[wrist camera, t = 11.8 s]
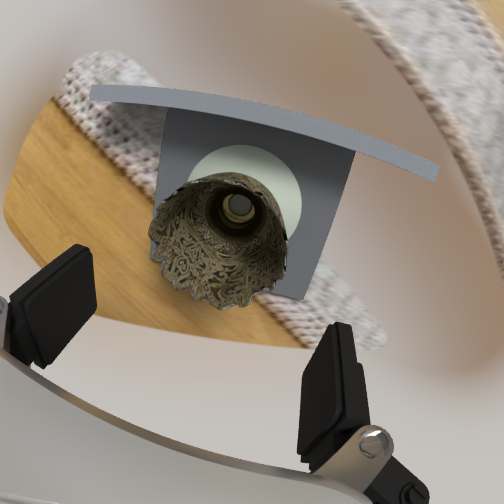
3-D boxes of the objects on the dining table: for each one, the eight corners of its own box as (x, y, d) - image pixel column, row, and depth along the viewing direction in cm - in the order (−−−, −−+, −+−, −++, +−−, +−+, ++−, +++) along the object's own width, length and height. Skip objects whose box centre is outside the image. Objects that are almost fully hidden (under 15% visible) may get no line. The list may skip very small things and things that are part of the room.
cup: (229, 264, 24) (204, 327, 17) (175, 192, 22) (123, 231, 15) (308, 219, 22) (315, 274, 15) (253, 136, 19) (231, 148, 12)
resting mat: (357, 140, 19) (359, 141, 19) (302, 297, 26) (302, 301, 25) (173, 97, 19) (170, 97, 19) (152, 256, 26) (149, 259, 25)
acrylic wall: (417, 156, 19) (440, 166, 15) (412, 170, 19) (434, 182, 16) (120, 86, 19) (91, 84, 15) (118, 99, 20) (89, 100, 16)
